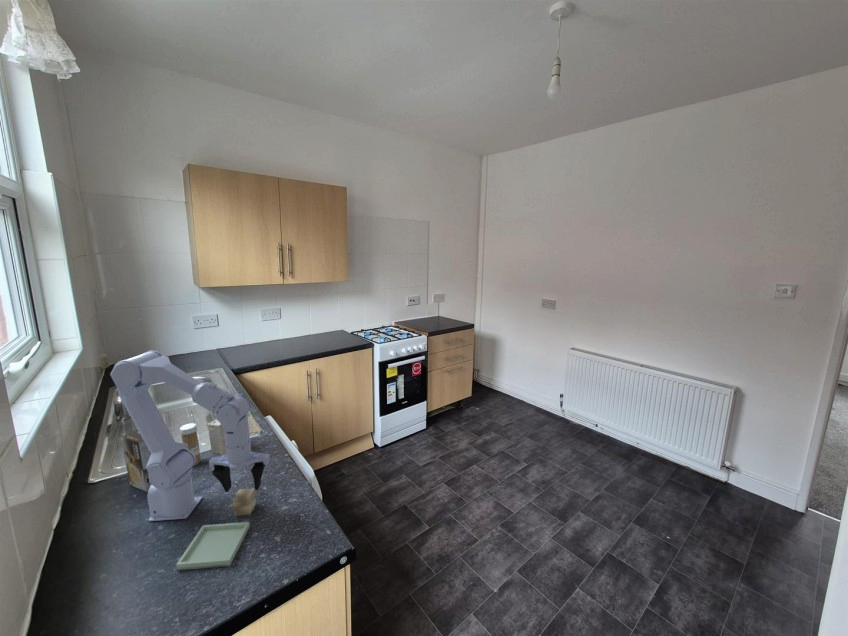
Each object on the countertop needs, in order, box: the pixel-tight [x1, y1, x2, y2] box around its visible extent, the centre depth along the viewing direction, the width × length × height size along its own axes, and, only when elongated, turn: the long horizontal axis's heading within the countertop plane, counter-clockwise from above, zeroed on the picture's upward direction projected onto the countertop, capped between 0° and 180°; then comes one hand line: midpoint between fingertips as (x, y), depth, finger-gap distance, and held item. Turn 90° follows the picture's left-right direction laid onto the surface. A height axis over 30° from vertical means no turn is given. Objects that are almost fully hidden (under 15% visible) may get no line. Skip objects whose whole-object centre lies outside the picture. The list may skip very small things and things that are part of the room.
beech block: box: [232, 487, 256, 517], centre depth 94 cm, size 4×4×5 cm
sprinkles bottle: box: [179, 422, 202, 465], centre depth 114 cm, size 5×5×13 cm
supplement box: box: [207, 418, 227, 458], centre depth 120 cm, size 8×5×13 cm, turn 169°
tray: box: [175, 521, 251, 571], centre depth 82 cm, size 11×11×2 cm
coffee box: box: [120, 428, 152, 493], centre depth 104 cm, size 9×6×16 cm
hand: (243, 488), depth 93 cm, fingers open, 7 cm apart
